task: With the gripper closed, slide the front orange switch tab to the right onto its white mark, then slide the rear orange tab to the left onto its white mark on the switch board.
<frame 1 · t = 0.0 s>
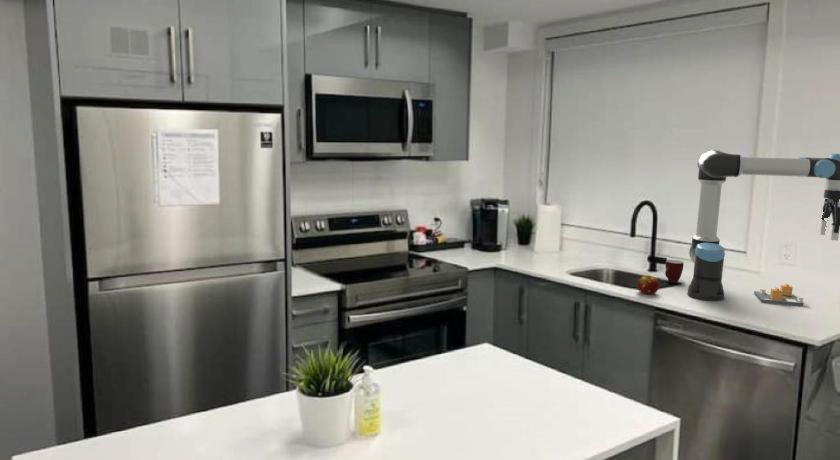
hand: (828, 237, 266), 28 cm above the countertop, fingers open, 13 cm apart
switch board: (777, 300, 268), on the countertop
tab back: (786, 289, 270), point 4 cm above the countertop, slide at 6.0 cm
tab front: (776, 293, 264), point 4 cm above the countertop, slide at 0.0 cm
fruit: (647, 293, 276), on the countertop
mug: (671, 282, 297), on the countertop
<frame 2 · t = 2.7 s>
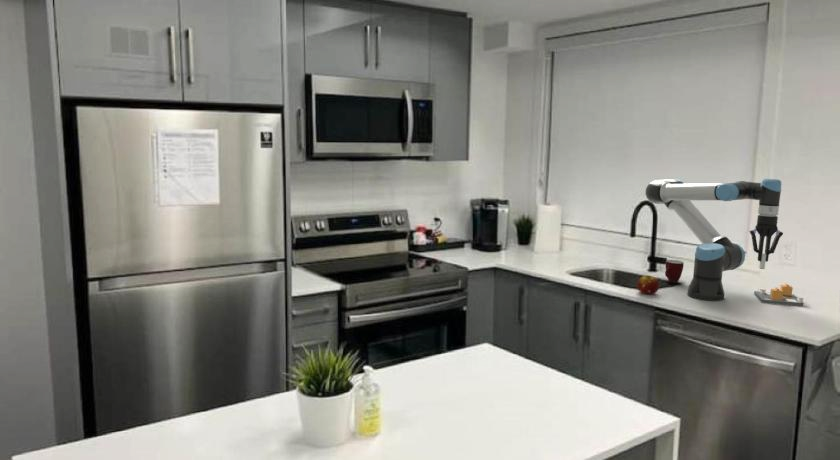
hand: (761, 268, 263), 15 cm above the countertop, fingers closed
nothing on the countertop moved.
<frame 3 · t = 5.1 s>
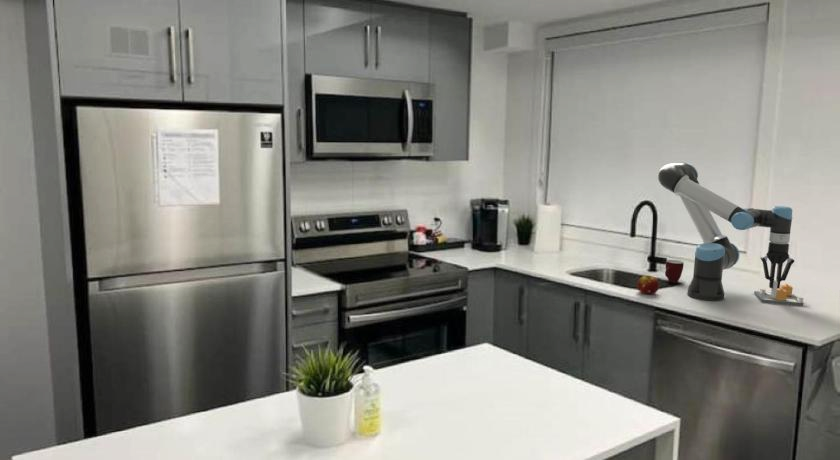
hand: (773, 295, 264), 3 cm above the countertop, fingers closed
tab front: (780, 293, 263), point 4 cm above the countertop, slide at 1.6 cm, touching gripper
everything else where it was.
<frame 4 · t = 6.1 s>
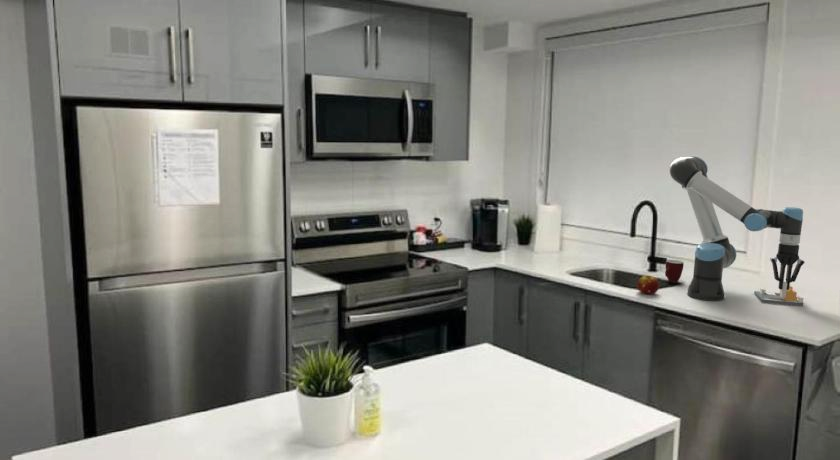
hand: (782, 296, 263), 3 cm above the countertop, fingers closed
tab front: (790, 294, 262), point 4 cm above the countertop, slide at 5.2 cm, touching gripper
everything else where it was.
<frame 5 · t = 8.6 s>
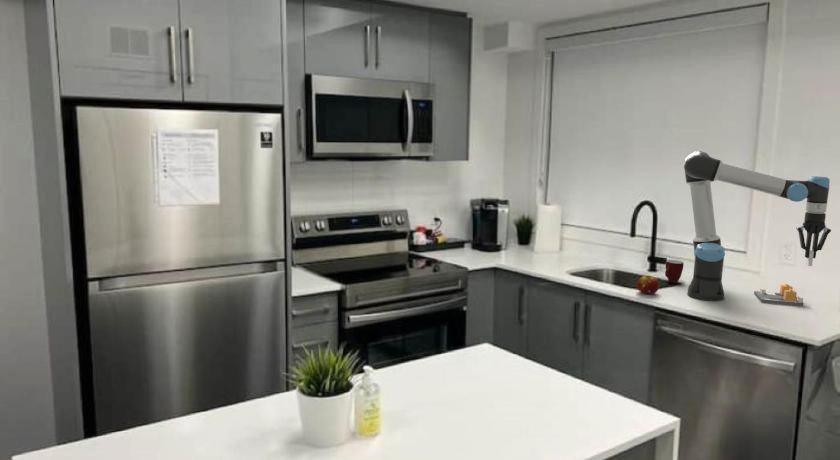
hand: (809, 265, 266), 16 cm above the countertop, fingers closed
tab front: (790, 294, 262), point 4 cm above the countertop, slide at 5.2 cm
everything else where it was.
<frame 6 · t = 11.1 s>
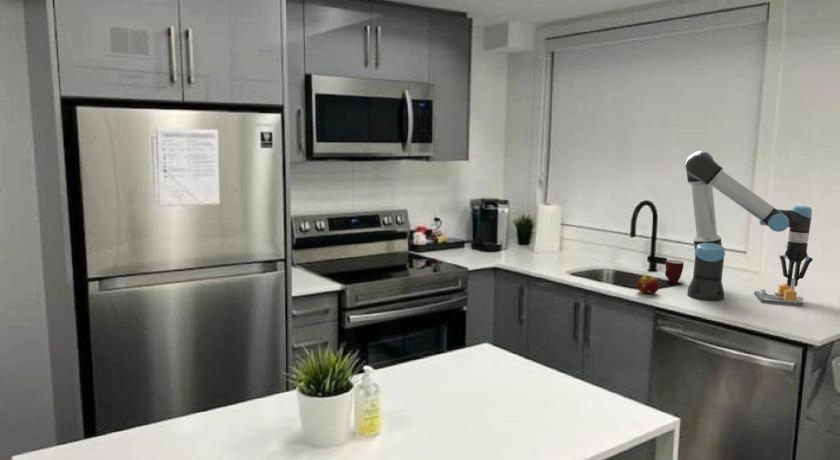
hand: (790, 292, 270), 3 cm above the countertop, fingers closed
tab back: (784, 289, 271), point 4 cm above the countertop, slide at 5.3 cm, touching gripper
everything else where it was.
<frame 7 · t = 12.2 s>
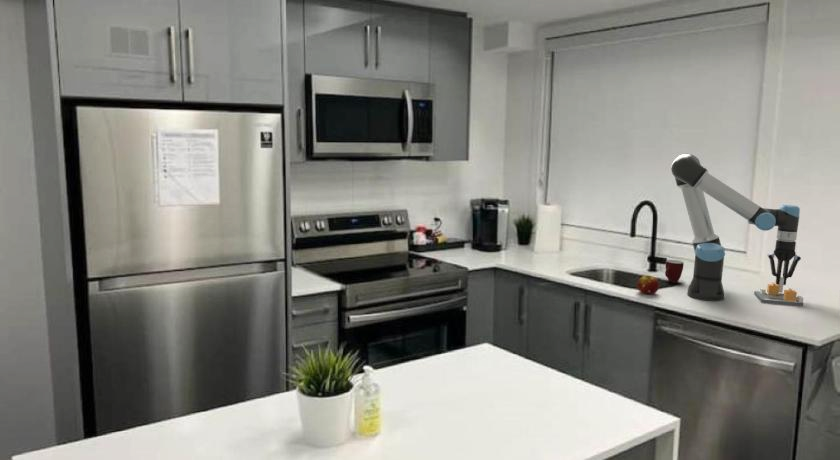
hand: (779, 291, 271), 3 cm above the countertop, fingers closed
tab back: (773, 288, 272), point 4 cm above the countertop, slide at 0.8 cm, touching gripper
everything else where it was.
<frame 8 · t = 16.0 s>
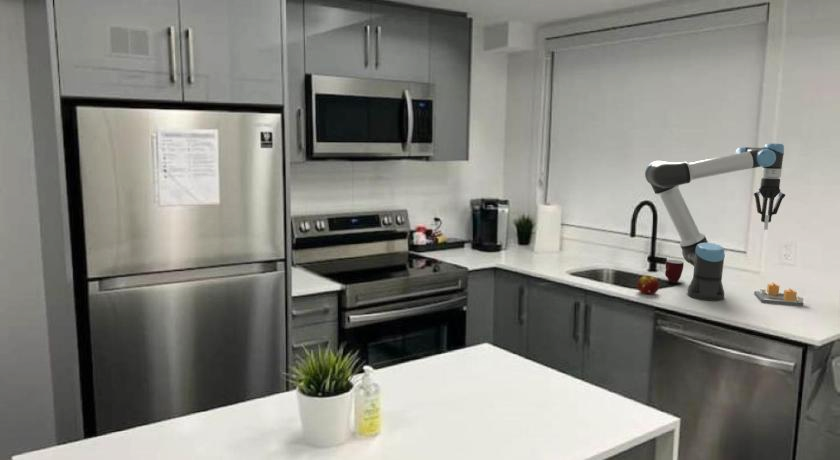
hand: (764, 229, 277), 29 cm above the countertop, fingers closed
tab back: (773, 288, 272), point 4 cm above the countertop, slide at 0.8 cm
everything else where it was.
at the end: tab front slide at 5.2 cm; tab back slide at 0.8 cm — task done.
